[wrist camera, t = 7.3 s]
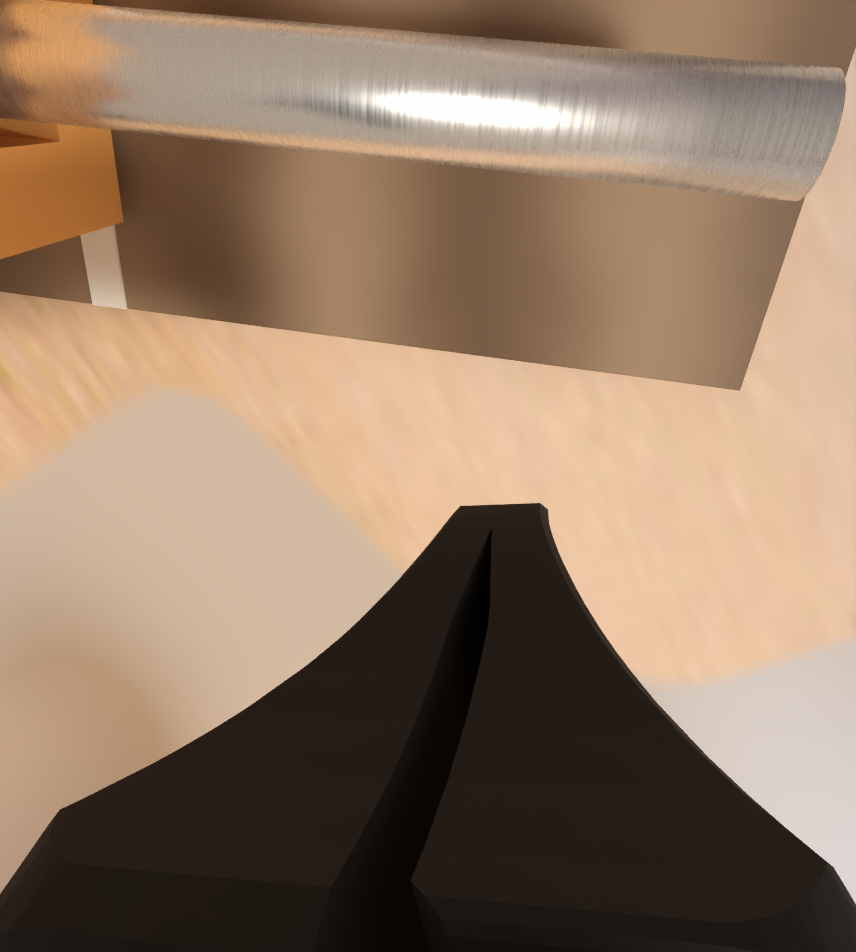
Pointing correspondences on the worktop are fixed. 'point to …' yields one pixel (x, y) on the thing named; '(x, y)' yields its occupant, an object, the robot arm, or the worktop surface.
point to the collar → (54, 182)
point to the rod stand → (444, 167)
